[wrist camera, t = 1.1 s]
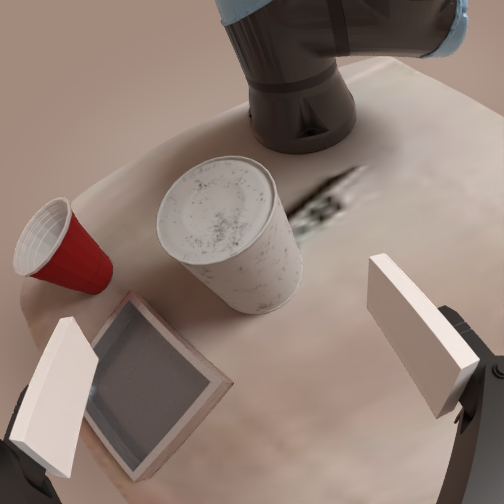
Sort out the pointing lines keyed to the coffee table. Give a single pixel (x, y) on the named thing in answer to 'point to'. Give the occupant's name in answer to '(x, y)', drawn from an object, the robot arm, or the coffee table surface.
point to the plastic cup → (61, 251)
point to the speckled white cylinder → (232, 233)
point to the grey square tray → (148, 388)
